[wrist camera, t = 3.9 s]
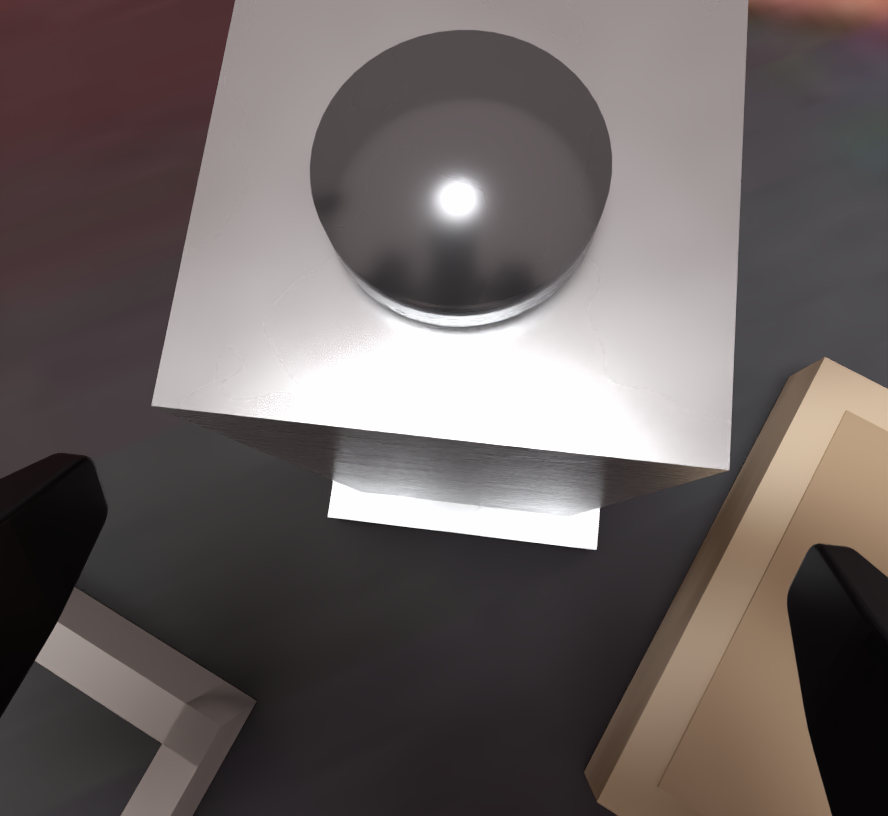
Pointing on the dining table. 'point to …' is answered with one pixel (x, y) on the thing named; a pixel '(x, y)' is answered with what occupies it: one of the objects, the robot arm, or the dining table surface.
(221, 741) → the casing tray rim
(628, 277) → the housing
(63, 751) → the dining table surface
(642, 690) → the stand
